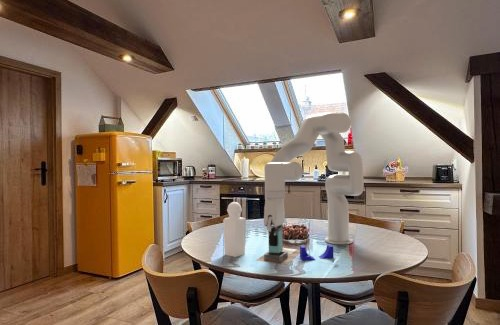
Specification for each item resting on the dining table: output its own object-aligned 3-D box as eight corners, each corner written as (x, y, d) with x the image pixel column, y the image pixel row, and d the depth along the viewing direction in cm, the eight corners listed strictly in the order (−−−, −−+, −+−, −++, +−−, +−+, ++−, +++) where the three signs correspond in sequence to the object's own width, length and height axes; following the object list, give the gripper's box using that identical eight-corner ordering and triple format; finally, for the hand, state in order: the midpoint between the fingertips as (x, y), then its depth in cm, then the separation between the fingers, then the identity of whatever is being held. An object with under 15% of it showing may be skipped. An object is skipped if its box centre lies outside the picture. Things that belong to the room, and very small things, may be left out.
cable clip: (302, 265, 116) (302, 248, 116) (300, 261, 121) (299, 245, 121) (335, 264, 117) (334, 247, 117) (331, 260, 121) (330, 244, 121)
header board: (275, 250, 135) (275, 242, 135) (303, 254, 130) (303, 245, 130) (255, 264, 117) (255, 254, 117) (286, 268, 112) (286, 258, 112)
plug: (272, 249, 122) (272, 225, 122) (283, 250, 120) (282, 226, 120) (268, 252, 118) (267, 227, 118) (279, 253, 116) (278, 228, 116)
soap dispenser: (234, 254, 130) (233, 200, 130) (246, 257, 126) (246, 201, 126) (223, 258, 125) (222, 202, 125) (235, 261, 121) (235, 203, 121)
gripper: (273, 193, 128) (274, 238, 128) (256, 197, 113) (257, 248, 113) (291, 193, 125) (292, 240, 125) (276, 198, 110) (276, 251, 110)
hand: (275, 243), depth 119 cm, fingers closed on plug, 4 cm apart
